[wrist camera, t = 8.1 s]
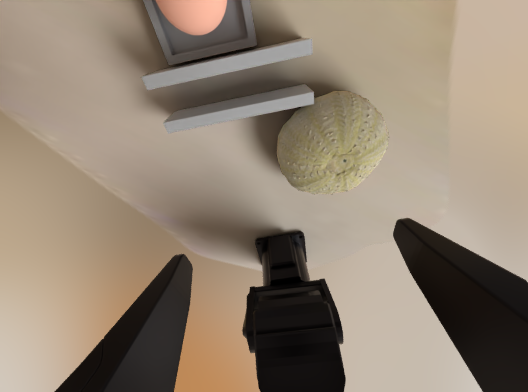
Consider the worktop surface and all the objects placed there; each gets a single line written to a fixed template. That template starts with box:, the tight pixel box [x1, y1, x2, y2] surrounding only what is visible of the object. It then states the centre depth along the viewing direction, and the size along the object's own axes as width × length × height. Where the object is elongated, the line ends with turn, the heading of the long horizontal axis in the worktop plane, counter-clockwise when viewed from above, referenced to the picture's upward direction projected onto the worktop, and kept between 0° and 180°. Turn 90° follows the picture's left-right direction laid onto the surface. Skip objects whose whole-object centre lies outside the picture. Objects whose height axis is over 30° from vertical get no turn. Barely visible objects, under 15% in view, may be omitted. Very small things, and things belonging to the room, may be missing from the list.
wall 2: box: [163, 84, 314, 133], centre depth 16 cm, size 1×11×3 cm, turn 100°
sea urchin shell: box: [276, 91, 389, 194], centre depth 18 cm, size 9×8×8 cm
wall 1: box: [141, 38, 313, 90], centre depth 14 cm, size 1×11×3 cm, turn 100°
